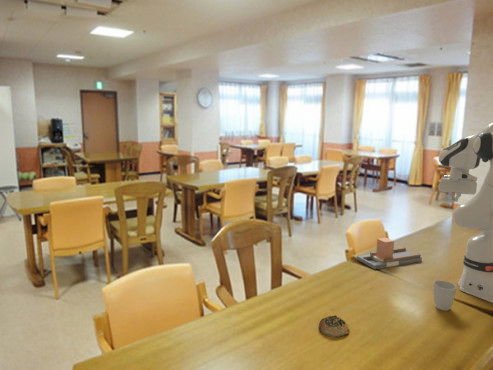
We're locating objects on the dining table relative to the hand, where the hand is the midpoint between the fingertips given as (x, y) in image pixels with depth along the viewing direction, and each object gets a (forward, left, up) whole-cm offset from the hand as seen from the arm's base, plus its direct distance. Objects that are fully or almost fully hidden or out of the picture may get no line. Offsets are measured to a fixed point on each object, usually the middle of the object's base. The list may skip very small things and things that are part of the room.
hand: (454, 201), depth 198 cm
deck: (+9, +31, -33) cm, 46 cm away
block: (+9, +36, -31) cm, 48 cm away
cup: (-39, +48, -33) cm, 70 cm away
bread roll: (-36, +100, -33) cm, 111 cm away
